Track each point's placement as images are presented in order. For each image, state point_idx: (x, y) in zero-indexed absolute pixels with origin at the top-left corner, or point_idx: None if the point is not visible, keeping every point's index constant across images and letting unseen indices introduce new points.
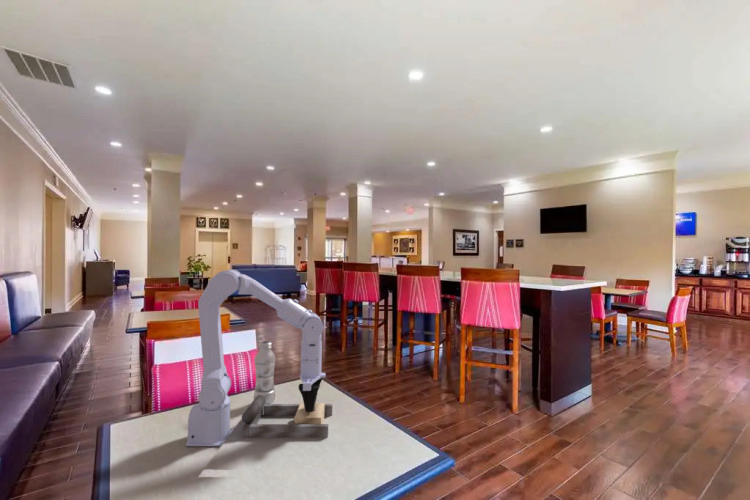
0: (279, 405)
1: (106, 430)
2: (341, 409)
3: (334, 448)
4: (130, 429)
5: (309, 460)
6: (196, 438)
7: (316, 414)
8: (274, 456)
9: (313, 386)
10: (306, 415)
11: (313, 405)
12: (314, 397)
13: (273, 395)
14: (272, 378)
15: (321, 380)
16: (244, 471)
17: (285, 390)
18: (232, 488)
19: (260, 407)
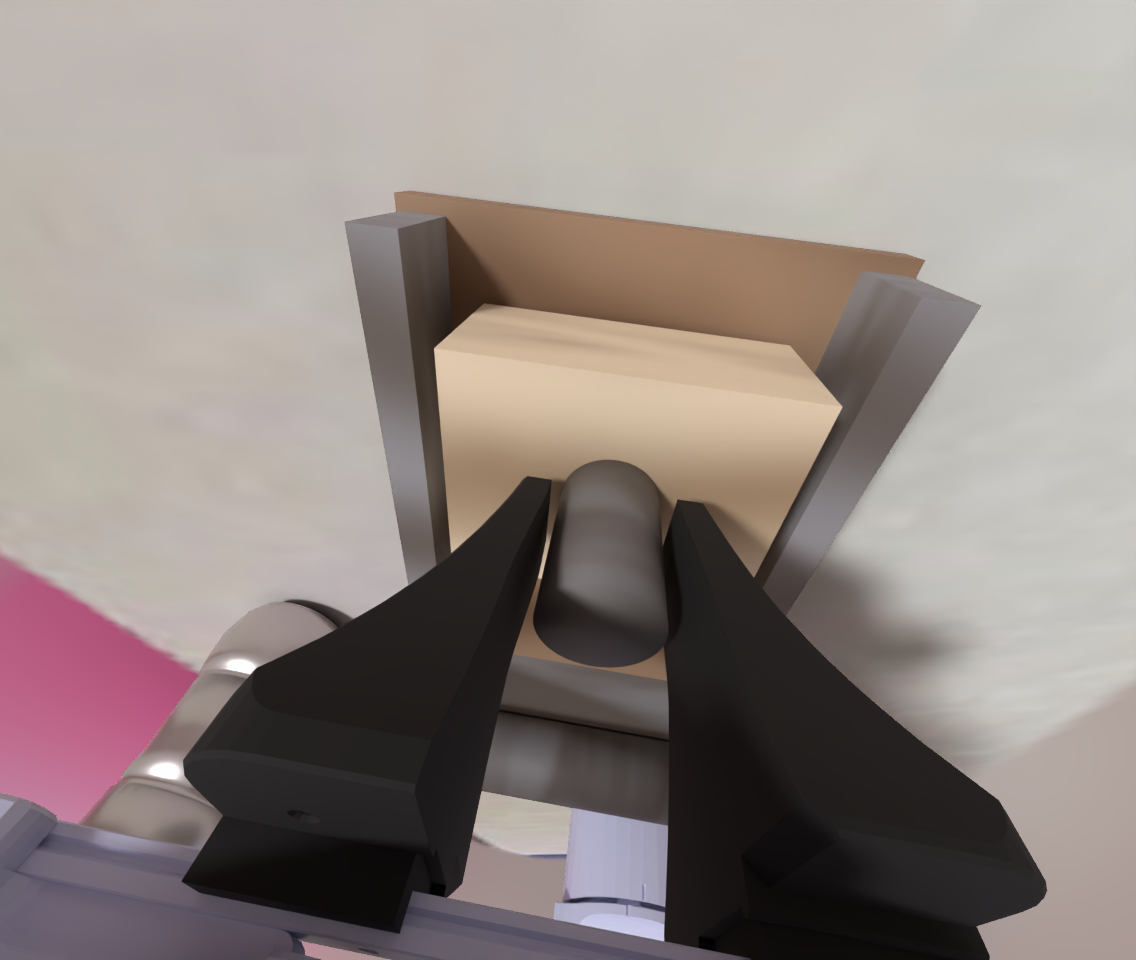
0: None
1: (539, 857)
2: (199, 75)
3: (1052, 197)
4: (538, 839)
5: (1090, 419)
6: None
7: (734, 449)
8: (891, 587)
9: (880, 907)
10: (726, 534)
11: (726, 542)
12: (801, 642)
13: (273, 645)
14: (182, 763)
15: (431, 755)
16: (954, 674)
17: (85, 543)
18: (1064, 699)
19: (553, 750)
